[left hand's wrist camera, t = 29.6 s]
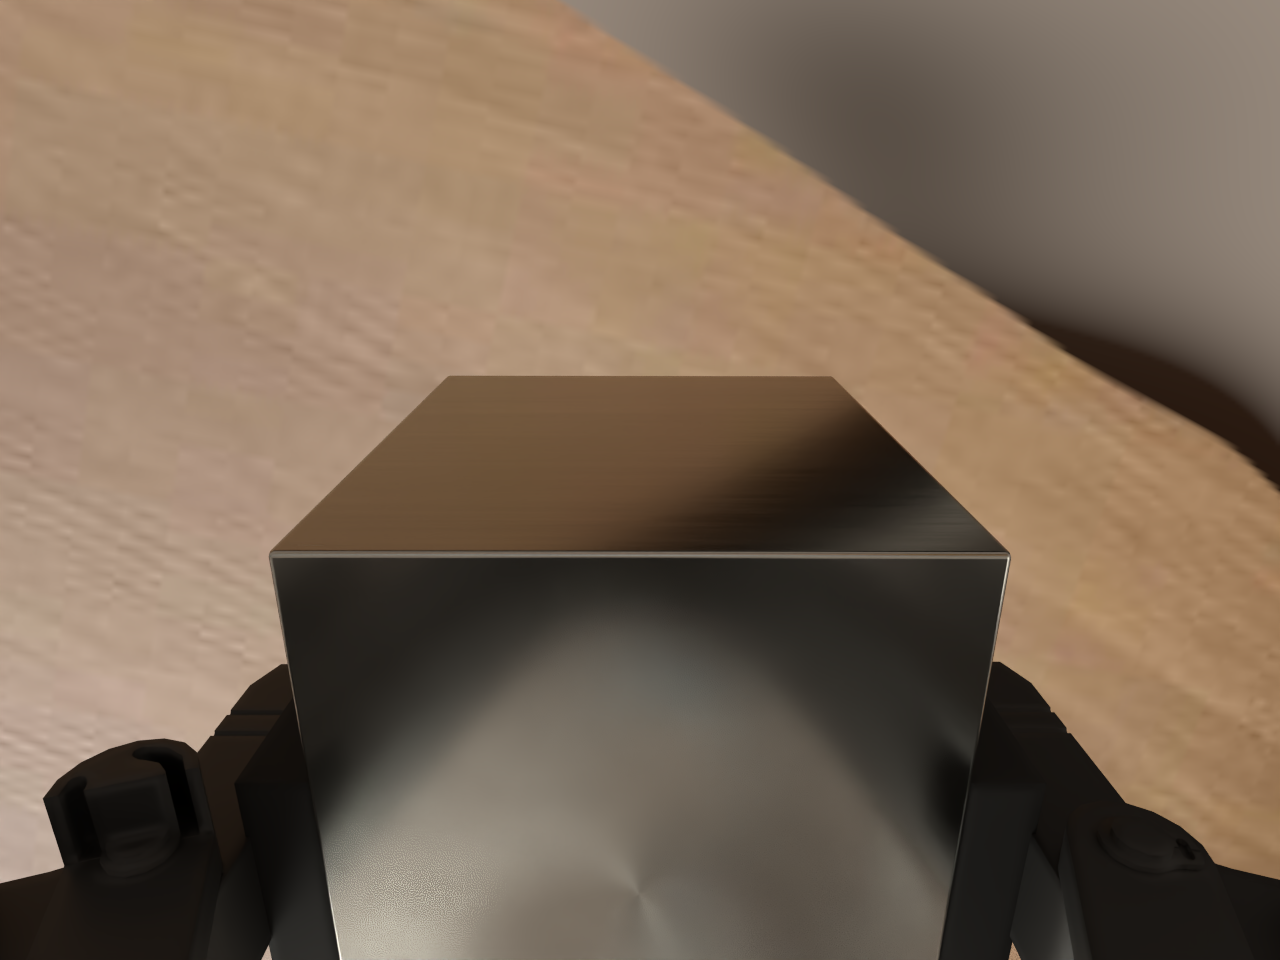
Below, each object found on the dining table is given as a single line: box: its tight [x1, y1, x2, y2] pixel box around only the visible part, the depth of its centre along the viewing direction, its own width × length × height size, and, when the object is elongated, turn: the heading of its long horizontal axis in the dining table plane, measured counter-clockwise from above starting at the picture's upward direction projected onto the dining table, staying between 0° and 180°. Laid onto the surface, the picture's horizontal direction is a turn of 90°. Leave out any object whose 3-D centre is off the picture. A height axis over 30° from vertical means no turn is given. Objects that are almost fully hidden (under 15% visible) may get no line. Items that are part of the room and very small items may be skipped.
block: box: [269, 376, 1011, 960], centre depth 12 cm, size 8×7×7 cm
